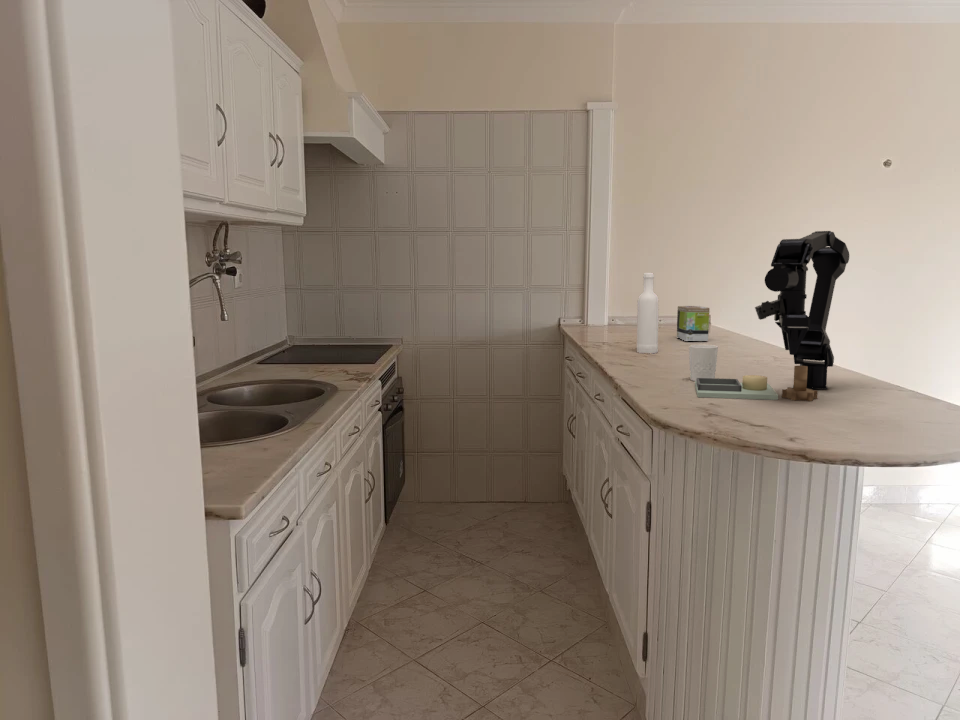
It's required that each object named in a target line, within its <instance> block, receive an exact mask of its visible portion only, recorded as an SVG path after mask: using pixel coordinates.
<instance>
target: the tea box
mask: <svg viewBox="0 0 960 720" xmlns="http://www.w3.org/2000/svg"><path fill="white" fill-rule="evenodd" d="M676 314H677V319H676V321H677V322H676V338H677V337H678V338H680V339H682V340H681V341H683V340H684V341H683V342H685V341H708V342H709V330H710V329H709V326H710V307H706V306H700V305H679V306H677V313H676ZM680 339H679V340H680Z"/></svg>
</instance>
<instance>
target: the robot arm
mask: <svg viewBox="0 0 960 720" xmlns="http://www.w3.org/2000/svg"><path fill="white" fill-rule="evenodd" d="M810 261H812V267H813V270H814V272H815V273H816V280H815V284H814V288H813V295H812V298H811V304H810V308H809V312H808V315H807V313H806V312H807V311H806V310H805V309H806V308H805V305H806V299H807V295H808V294H806V288H807V287H806V286H807V285H806V284H807V272H808V271H809V268H808V266H807V265H808V264H809V263H810ZM849 261H850V250H849V249H848V246H847V244H846V243H845V242H844V241H842V240H841V239H840V238H838V237H837V236H836V235H835V232H834V231H831V230H817V231H816V230H815V231H814V232H812V233H811V234H808V235H806V236H803V237H801V238H788V239H787V238H786V239H785V238H782V239H781V240H780V241H779V243H778V245H777V246H776V249H775V252H774V255H773V258H772V260H771V263H770V267H773V268H771V269H769V270H768V271H767V272H766V274H765V277H764V284H765V286H766V288H767V289H768V290H770V291H771V292H775V293H777V292H778V294H777V299H775V300H772V301H769V300H766V301H764V302H761V303H760V304H759V305H757V306H755V307H754V310H755V312H756V315H757V317H758V319H759V320H765V319H767V318H768V317H770V316H774V317H773V318H774V319H773V320H774V321H775V324H776V325H777V326H778V327H779V328H780V330H781V334H782V339H783V345H784V349H785V351H789V355H792V356H793V363H794V365H799V366H807V367H808V371H807V388H808V389H811V390H829V387H828V386H827V382H828V381H827V380H828V378H827V377H828V367H829V368H830V367H831V368H832V367H834V361H835V356H834V354H833V351H832V347H831V344H830V343H831V340H830V338H829V336H828V334H827V331H826V329H827V325H828V321H829V315H830V310H831V305H832V301H833V296H834V291H835V287H836V286H835V285H836V281H837V279H839V278H840V277H841V275H843V273H845V270H846V267H847V264H848V263H849ZM779 292H780V293H779Z"/></svg>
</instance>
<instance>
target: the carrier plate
mask: <svg viewBox="0 0 960 720" xmlns="http://www.w3.org/2000/svg"><path fill="white" fill-rule="evenodd" d="M694 388H695V392H696V395H697V398H712V399H713V398H714V399H744V400H770V401H771V400H772V401H773V400H774V401H778V400H779V394H778V393H777V392H776V390H775V389H773V387H772V386H771V384H769V383H768V376H765V375H764V376H763V375H756V374H754V375H753V374H751V375H750V374H748V375H746V374H745V375H742V380H741V382H740V381H739V379H738V378H719V377H718V378H716V377H715V378H697V381H694Z"/></svg>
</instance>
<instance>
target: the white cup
mask: <svg viewBox="0 0 960 720" xmlns="http://www.w3.org/2000/svg"><path fill="white" fill-rule="evenodd" d="M718 348H719V346H718V345H714V344H691V345H689V347H688V350H689V351H688V355H689V357H688V358H689V372H690V375H689V377H690V378H689V379H690V380H691V381H693V382H695V381H697V378H716V371H717V363H718V351H719V350H718Z"/></svg>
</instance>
